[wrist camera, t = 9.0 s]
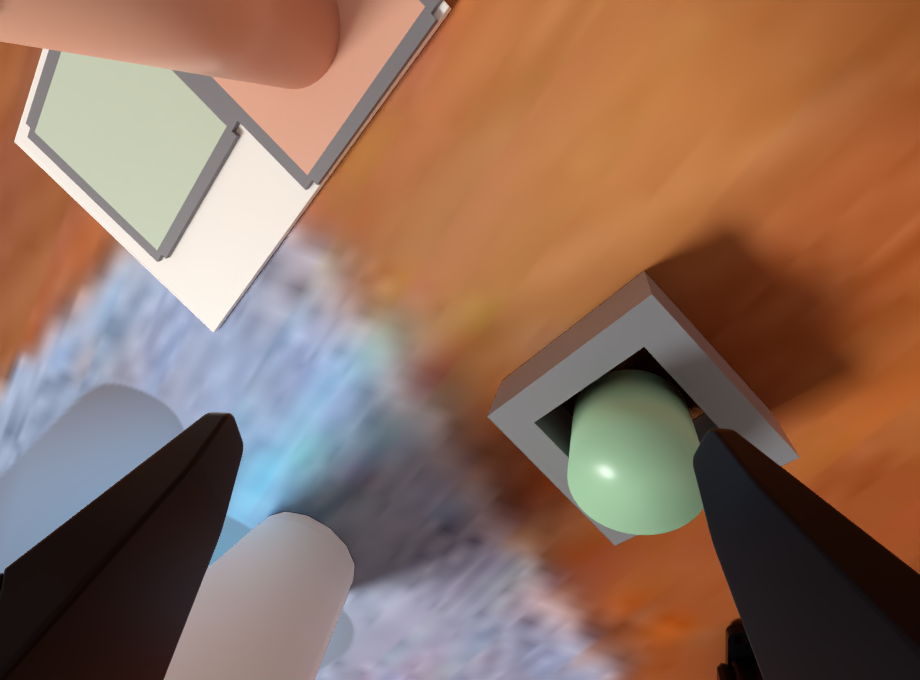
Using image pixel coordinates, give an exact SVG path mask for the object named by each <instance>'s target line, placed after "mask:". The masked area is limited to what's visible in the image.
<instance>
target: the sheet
mask: <svg viewBox="0 0 920 680" xmlns="http://www.w3.org/2000/svg"><path fill="white" fill-rule="evenodd" d="M336 2H337V5H338V11H339V19H340V35H339V42H338V47H337V51H336V54H335V57H334V59H333V61H332V63H331V65H330V67H329V68H328V70H327V71H326V73H325V74H324V75H323V76H322V77H321V78H320V79H319V80H318V81H316V82H315V83H313V84H312V85H310V86H307V87H305V88H301V89H285V88H279V87H273V86H267V85H261V84H255V83H248V82H242V81H236V80H230V79H224V78H218V77H212V76H206V75H200V74H194V73H188V72H182V71H176V70H170V69H164V68H158V67H152V66H146V65H140V64H134V63H128V62H122V61H116V60H110V59H104V58H98V57H92V56H86V55H80V54H74V53H67V52H61V51H55V50H49V49H43V51H42V54H41V57H40V60H39V63H38V67H37V70H36V73H35V76H34V80H33V83H32V86H31V89H30V93H29V96H28V99H27V102H26V106H25V109H24V112H23V115H22V119H21V122H20V125H19V128H18V131H17V135H16V138H15V141H14V142H15V143H16V144H17V145H18V146H19V147H20V148H21V149H22V150H23V151H24V152H25V153H27V154H28V155H29V156H30V157H31V158H32V159H33V160H34V161H35V162H36V163H37V164H38V165H39V166H40V167H41V168H42V169H43V170H44V171H45V172H46V173H47V174H48V175H49V176H51V177H52V178H53V179H54V180H55V181H56V182H57V183H58V184H59V185H60V186H61V187H62V188H63V189H64V190H65V191H66V192H67V193H68V194H69V195H70V196H71V197H72V198H73V199H75V200H76V201H77V202H78V203H79V204H80V205H81V206H82V207H83V208H84V209H85V210H86V211H87V212H88V213H89V214H90V215H91V216H92V217H93V218H94V219H95V220H96V221H97V222H99V223H100V224H101V225H102V226H103V227H104V228H105V229H106V230H107V231H108V232H109V233H110V234H111V235H112V236H113V237H114V238H115V239H116V240H117V241H118V242H119V243H120V244H121V245H123V246H124V247H125V248H126V249H127V250H128V251H129V252H130V253H131V254H132V255H133V256H134V257H135V258H136V259H137V260H138V261H139V262H140V263H141V264H142V265H143V266H144V267H145V268H147V269H148V270H149V271H150V272H151V273H152V274H153V275H154V276H155V277H156V278H157V279H158V280H159V281H160V282H161V283H162V284H163V285H164V286H165V287H166V288H167V289H168V290H169V291H171V292H172V293H173V294H174V295H175V296H176V297H177V298H178V299H179V300H180V301H181V302H182V303H183V304H184V305H185V306H186V307H187V308H188V309H189V310H190V311H191V312H192V313H193V314H195V315H196V316H197V317H198V318H199V319H200V320H201V321H202V322H203V323H204V324H205V325H206V326H207V327H208V328H209V329H210V330H211V331H212V332H215V331H217V330H218V329H219V328H220V326H221V325H222V324H223V322H224V321H225V320H226V318H227V317H228V315H229V314H230V313H231V311H232V310H233V309H234V307H235V306H236V304H237V303H238V302H239V300H240V299H241V298H242V296H243V295H244V293H245V292H246V291H247V289H248V288H249V287H250V285H251V284H252V282H253V281H254V280H255V278H256V277H257V276H258V274H259V273H260V271H261V270H262V269H263V267H264V266H265V265H266V263H267V262H268V261H269V259H270V258H271V256H272V255H273V254H274V252H275V251H276V250H277V248H278V247H279V245H280V244H281V243H282V241H283V240H284V239H285V237H286V236H287V234H288V233H289V232H290V230H291V229H292V228H293V226H294V225H295V223H296V222H297V221H298V219H299V218H300V217H301V215H302V214H303V212H304V211H305V210H306V208H307V207H308V206H309V204H310V203H311V201H312V200H313V199H314V197H315V196H316V195H317V193H318V192H319V191H320V189H321V188H322V186H323V185H324V184H325V182H326V181H327V180H328V178H329V177H330V175H331V174H332V173H333V171H334V170H335V169H336V167H337V166H338V164H339V163H340V162H341V160H342V159H343V158H344V156H345V155H346V153H347V152H348V151H349V149H350V148H351V147H352V145H353V144H354V142H355V141H356V140H357V138H358V137H359V136H360V134H361V133H362V131H363V130H364V129H365V127H366V126H367V125H368V123H369V122H370V120H371V119H372V118H373V116H374V115H375V114H376V112H377V111H378V110H379V108H380V107H381V105H382V104H383V103H384V101H385V100H386V99H387V97H388V96H389V94H390V93H391V92H392V90H393V89H394V88H395V86H396V85H397V83H398V82H399V81H400V79H401V78H402V77H403V75H404V74H405V72H406V71H407V70H408V68H409V67H410V66H411V64H412V63H413V61H414V60H415V59H416V57H417V56H418V55H419V53H420V52H421V50H422V49H423V48H424V46H425V45H426V44H427V42H428V41H429V40H430V38H431V37H432V35H433V34H434V33H435V31H436V30H437V29H438V27H439V26H440V24H441V23H442V22H443V20H444V19H445V18H446V16H447V15H448V13H449V12H450V11H451V8H450V6H449V5H448V4H447V3H446V2H445V1H444V0H336Z"/></svg>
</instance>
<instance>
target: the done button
mask: <svg viewBox="0 0 920 680" xmlns="http://www.w3.org/2000/svg"><path fill="white" fill-rule="evenodd" d="M699 444H700V442H699V439H698V436H697V433H696V430H695V427H694V424H693V421H692V418H691V415H690V412H689V409H688V406H687V403H686V401H685V399H684V397H683V396H682V394H681V393H680V392H679V390H678V389H677V388H676V387H675V386H674V385H673V384H671V383H670V382H669V381H667V380H666V379H664V378H662V377H660V376H658V375H656V374H653V373H650V372H646V371H641V370H630V369H627V370H618V371H613V372H609V373H606V374H604V375H603V376H601V377H600V378H598V379H597V380H595V381H594V382H592V383H591V384H589V385H588V386H587V387H585V388H584V389H583V390H582V391H581V393H580V394H579V396H578V398H577V400H576V403H575V406H574V411H573V421H572V431H571V441H570V451H569V461H568V471H567V480H568V486H569V489H570V492H571V494H572V496H573V498H574V500H575V501H576V503H577V504H578V506H579V507H580V508H581V509H582V510H583V511H584V512H585V513H586V514H587V515H588V516H589V517H591V518H592V519H593V520H595V521H596V522H598V523H600V524H602V525H603V526H606V527H608V528H610V529H613V530H616V531H619V532H623V533H627V534H635V535H655V534H661V533H666V532H669V531H673V530H675V529H678V528H680V527H682V526H684V525H686V524H687V523H689V522H690V521H691V520H693V519H694V518H695V517H696V516H697V515H698V514H699V513H700V512H701V511H702V509H703V504H702V500H701V496H700V492H699V488H698V484H697V480H696V476H695V472H694V468H693V457H694V454H695V452H696V450H697V448H698V446H699Z"/></svg>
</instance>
